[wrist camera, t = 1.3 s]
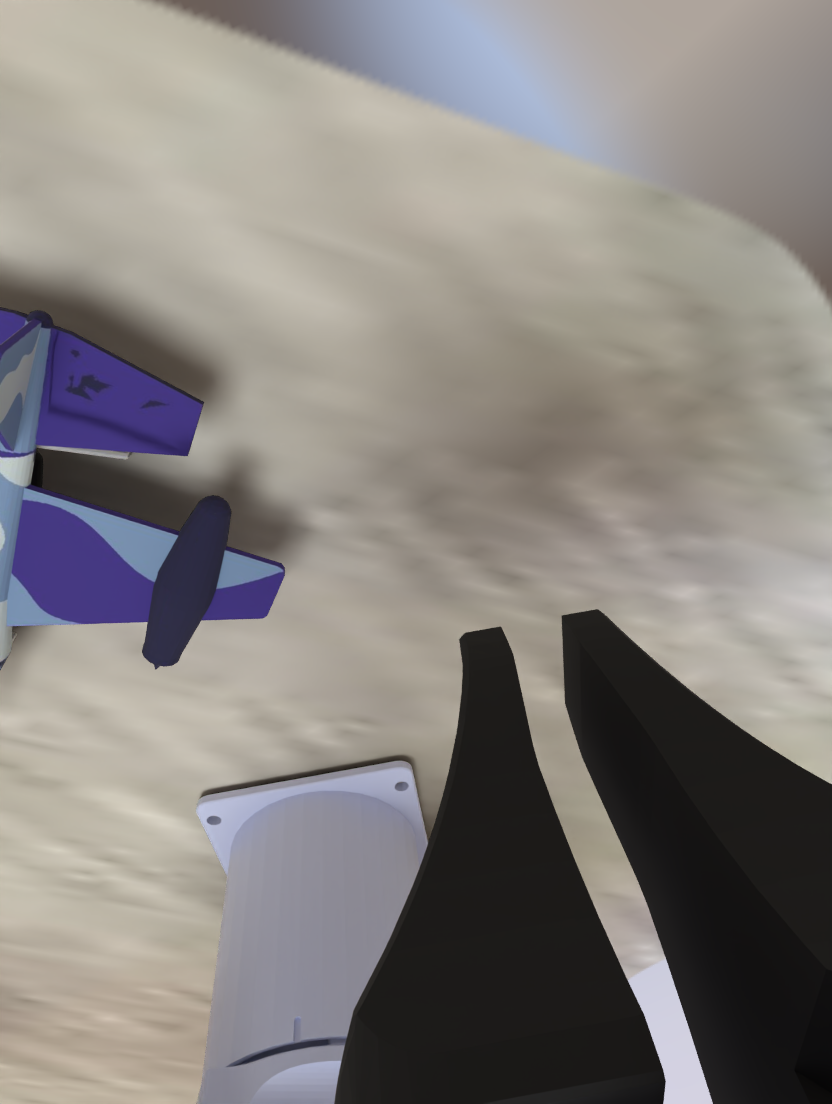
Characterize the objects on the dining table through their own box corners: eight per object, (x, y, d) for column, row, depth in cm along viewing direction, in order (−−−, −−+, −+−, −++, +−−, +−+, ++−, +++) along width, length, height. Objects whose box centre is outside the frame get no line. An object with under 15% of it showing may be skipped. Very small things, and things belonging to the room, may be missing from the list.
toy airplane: (-24, 746, 24) (-74, 837, 21) (-387, 360, 17) (-540, 417, 14) (342, 632, 24) (344, 710, 21) (127, 172, 16) (81, 189, 13)
